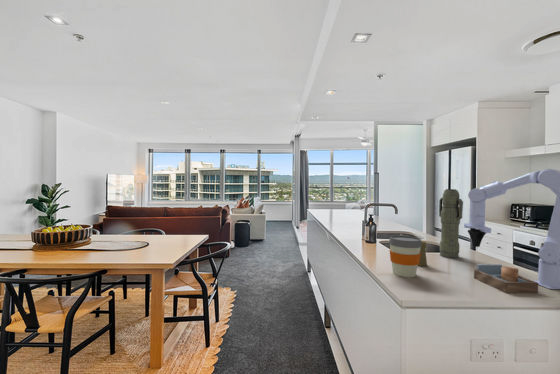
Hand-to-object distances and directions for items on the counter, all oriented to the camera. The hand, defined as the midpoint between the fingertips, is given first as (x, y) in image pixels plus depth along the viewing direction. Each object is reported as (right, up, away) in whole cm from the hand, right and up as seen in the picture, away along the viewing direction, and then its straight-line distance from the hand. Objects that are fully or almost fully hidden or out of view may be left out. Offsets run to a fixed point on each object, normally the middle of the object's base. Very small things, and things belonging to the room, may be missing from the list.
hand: (476, 246), depth 133 cm
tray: (-2, -9, -18) cm, 21 cm away
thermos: (+2, -10, +24) cm, 26 cm away
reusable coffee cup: (-35, -10, -7) cm, 37 cm away
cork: (-21, -10, +7) cm, 25 cm away
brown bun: (-2, -9, -21) cm, 23 cm away
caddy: (-2, -11, -19) cm, 22 cm away
